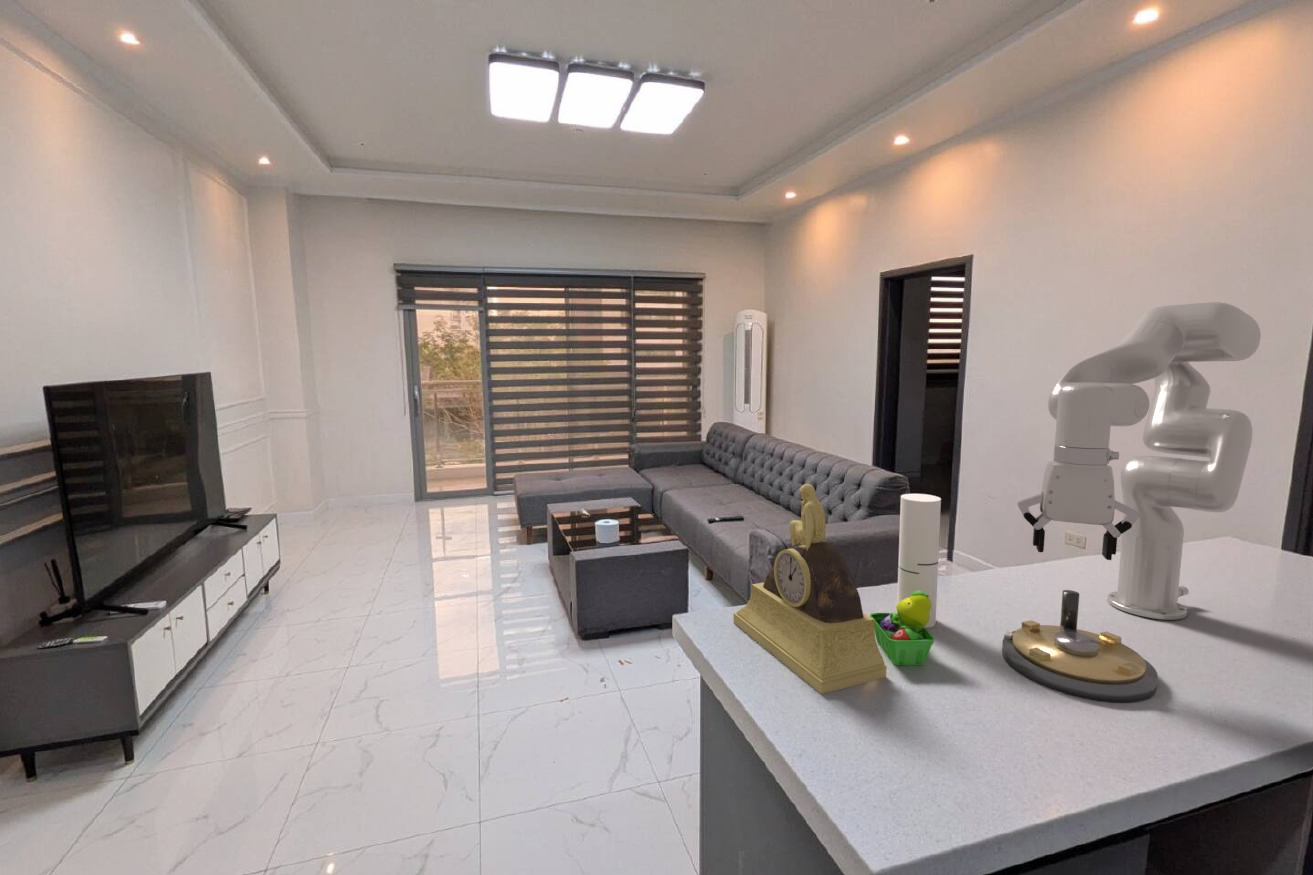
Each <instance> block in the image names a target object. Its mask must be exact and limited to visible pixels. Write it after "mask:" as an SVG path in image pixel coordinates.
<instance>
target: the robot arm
mask: <svg viewBox="0 0 1313 875" xmlns="http://www.w3.org/2000/svg"><path fill="white" fill-rule="evenodd" d="M1261 337H1262V336H1261V329H1260V327H1259V324H1258V323H1257V321H1256V320H1255V318H1253V316H1251V315H1250V314H1248V313H1246V312H1245V311H1244V310H1242V309H1240V308H1239V307H1237V306H1234V305H1232V304H1229V303H1226V302H1221V301H1212V302H1211V301H1210V302H1199V303H1186V304H1175V305H1174V304H1173V305H1163V306H1158V307H1155V308H1152V309H1150V310H1148V311H1146V312H1145V313H1143V315H1141V317H1140V318H1138V320H1137V321H1136V322H1135V324H1134V325H1133V326H1132V327H1131V329H1130V330H1129V331H1128V332H1127V334H1126V335H1125V336H1124V338H1123V339H1122V340H1121V341H1120V343H1119V344H1118V345H1117V346H1114V347H1112V348H1110V349H1107V350H1103V351H1101V352H1099V353H1097V354H1095V355H1092V356H1091V357H1087V358H1085V359H1083V360H1081V361H1080V362H1077V363H1075V364H1074V365H1073V366H1071V367H1070V368H1068V369H1067V371H1065V372H1064V373H1063V375H1062V376H1061V377H1060V378H1059V380H1058V381H1057V382H1056V384H1055V385H1054V387H1053V388H1052V389H1051V392H1050V395H1049V396H1048V401H1047V408H1048V412H1049V414H1050V415H1051V416H1050V417H1052V418H1053V419H1054V420H1056V422H1055V424H1056V425H1055V434H1054V435H1055V436H1054V437H1055V438H1054V447H1053V448H1054V449H1053V450H1054V451H1053V459H1052V460H1053V461H1048V462H1047V463H1046V467H1045V470H1044V474H1043V479H1042V485H1041V486H1042V487H1041V492H1040V493H1039V494H1036V495H1033V496H1030V497H1028V498H1025V499H1022V500H1019V501H1017V503H1016V504H1017V507H1018V508H1019V510H1020V512H1021V514H1022V516H1023V518H1024V519H1025V521H1027V522H1028V523H1029V524H1030V525H1031V526H1032V527H1033V532H1032V533H1033V536H1032V545H1033V546H1034V547H1036V550H1037V552H1038V553H1044V550H1045V538H1046V537H1045V534H1046V530H1045V529H1044V527H1045V526H1046V525H1047V524H1049V523H1050V522H1051V521H1055V522H1062V523H1064V522H1065V523H1074V524H1083V525H1097V526H1102V527H1103V528H1105V530H1106V531H1105V532H1104V533H1103V539H1102V548H1101V549H1102V551H1101V555H1102V557H1103V558H1104V559H1105V560H1107V561H1112V557H1113V555H1114V556H1115V555H1116V554H1117V547H1118V546H1117V545H1118V538H1120V537H1121V541H1120V552H1119V553H1120V554H1119V555H1120V556H1119V557H1120V558H1119V566H1118V567H1119V569H1118V578H1117V580H1118V581H1117V582H1118V583H1117V591H1113V592H1110V593H1108V594H1107V599H1106V600H1107V602H1108V604H1109V605H1111V606H1112V607H1114V608H1116V609H1118V610H1120V611H1123V612H1125V613H1129V614H1132V615H1136V616H1138V617H1143V618H1149V619H1155V620H1161V621H1163V620H1164V621H1165V620H1167V621H1175V620H1176V621H1177V620H1182V619H1185V618H1186V617H1187V615H1188V611H1187V608H1186V607H1185V606H1184V605H1183V604H1180V603H1179V602H1178V600H1179V598H1180V597H1183V596H1188V594H1189V591H1190V590H1189V589H1188V588H1187V587H1186V586H1183V585H1181V586H1180V577H1181V566H1182V557H1183V544H1184V534H1185V529H1184V525H1183V523H1182V521H1181V519H1180V517H1179V516H1178V515H1177V513H1176V512H1175V510H1174V509H1173V508H1180V509H1181V508H1182V509H1189V510H1193V511H1194V510H1195V511H1201V512H1208V513H1223V512H1224V513H1225V512H1227V511H1230V510H1231V509H1232V508H1233V507H1234V504H1235V503H1236V502H1237V498H1238V497H1239V496H1238V495H1239V492H1240V488H1241V485H1242V481H1243V478H1244V473H1245V469H1246V465H1247V462H1248V458H1249V455H1250V449H1251V445H1252V439H1253V426H1252V421H1251V420H1250V418H1249V417H1248V416H1247V415H1246V414H1245V413H1243V412H1241V411H1238V410H1235V409H1234V410H1233V409H1225V408H1207V406H1208V402H1209V397H1210V394H1211V386H1210V384H1209V382H1208V381H1207V379H1206V378H1205V377H1204V376H1203V374H1201V373H1200V372H1199V371H1198V370H1197V369H1196V368H1195V367H1193V366H1192V365H1191V364H1190V363H1191V362H1196V363H1197V362H1198V363H1200V362H1201V363H1202V362H1239V361H1244V360H1246V359H1249V358H1250V357H1252V356H1253V355H1254V354H1255V353H1256V351H1257V350H1258V349H1259V346H1260V342H1261ZM1152 379H1154V392H1153V397H1152V399H1151V403H1150V398H1149V395H1148V393H1147V392H1146V391H1145V390H1144V389H1143V388H1142V387H1140V386H1139V385H1136V384H1138V383H1143V382H1146V381H1150V380H1152ZM1146 416H1147V417H1146ZM1145 417H1146V421H1145V424H1144V428H1143V435H1142V441H1143V444H1144V446H1146V448H1147V449H1149V450H1151V451H1154V452H1157V453H1162V454H1170V455H1171V454H1172V455H1180V456H1190V457H1191V456H1192V457H1202V458H1209V461H1208V460H1197V459H1186V458H1180V457H1179V458H1178V457H1172V456H1169V457H1168V456H1159V455H1141V456H1135V457H1133V458H1130V459H1129V460H1128V461H1126V462H1124V464H1123V466H1122V467H1121V471H1120V485H1121V486H1120V487H1121V492H1122V493H1121V494H1122V500H1123V502H1120V501H1118V500H1116V498H1115V480H1114V472H1113V467H1112V466H1111V465H1109V464H1110V462H1111V461H1114V460H1116V461H1118V460H1119V458H1120V452H1119V451H1114V450H1111V448H1110V439H1111V438H1110V437H1111V427H1130V426H1134V425H1136V424H1138V423H1140V422H1141V421H1142V420H1143V419H1144V418H1145ZM1038 504H1039V511H1040V514H1039V515H1037V517H1035V516H1034V515H1033V514H1032V513H1031V512H1030V510H1029V508H1030V507H1032V506H1035V505H1038ZM1172 507H1173V508H1172ZM1115 510H1116V511H1119V512H1120V513H1123V516H1122V517H1123V518H1122V520H1121V521H1119V522H1118V523H1116V524H1113V521H1114V518H1115ZM1033 546H1032V547H1033Z"/></svg>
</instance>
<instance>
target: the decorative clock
mask: <svg viewBox="0 0 1313 875" xmlns="http://www.w3.org/2000/svg"><path fill="white" fill-rule="evenodd" d="M799 492H800V496H801V499H802V501H801V512H800V513H801V515H800V516H801V517H800V518H801V519H800V520H798V519H793V520H791V521H790V522H789V534H790V541H791V546H790V547H789V548H787V549H782V550H780V551H779V552H778V553H777V555H776V557H775V560H774V564H773V566H772V568H771V569H769V571H768V572H767V574H766V576H765V579H764V581H763V582H759V583H753V584H751V594H750V598H749V600H747V602H746V604H745V606H743V607H742V608H740V609H739V610H737V611H736V612H734V613H733V624H735V626H737V627H738V628H740V629H741V630H742V631H743V632H745V633H746V634H747V635H748V636H749V637H750V638H752V639H753V640H754V641H756V642H757V644H759V645H761V646H762V648H764V649H765V650H767V651H768V652H769V653H770V652H771V653H770V654H772V656H774V657H775V658H776V659H778V660H779V661H780V662H782V664H784V665H785V666H786V667H787V668H789V669H790V670H791V671H793V673H795V674H796V675H797V676H798V677H800V678H801V679H802V680H803V681H805V682H806V683H807V684H808V685H809V686H811V687H812V688H813V689H814V690H815V691H817V692H818V693H819V694H820V695H823V694H827V693H831V692H834V691H840V690H842V689H846V688H849V687H854V686H857V684H858V685H861V684H865V683H866V684H867V683H869V682H874V681H877V680H880V679H885V678H887V670H888V669H887V665H886V664H885V661H884V658H883V656H882V654H881V652H880V650H879V647H878V642H877V640H876V635H875V631H874V619H873V618H871V617H870V615H868V614H866V613H864V612H863V611H864V610H863V607H862V601H861V597H860V593H859V591H858V588H857V585H856V583H855V581H854V578H853V575H852V573H851V570H850V569H849V567H848V565H847V563H846V562H845V560H844V558H843V557H842V555H841V553H840V550H839V549H838V547H837V546H835V545H834V544H832V543H831V542H825V540H826V532H827V531H826V530H827V529H826V527H827V525H826V516H825V511H824V508H823V505H822V503H821V501H820V500H819V499H818V497H817V495H816V490H815V488H814V486H813V485H812V484H810V483H805V484H803V485H802V486H801V487H800V488H799Z"/></svg>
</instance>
